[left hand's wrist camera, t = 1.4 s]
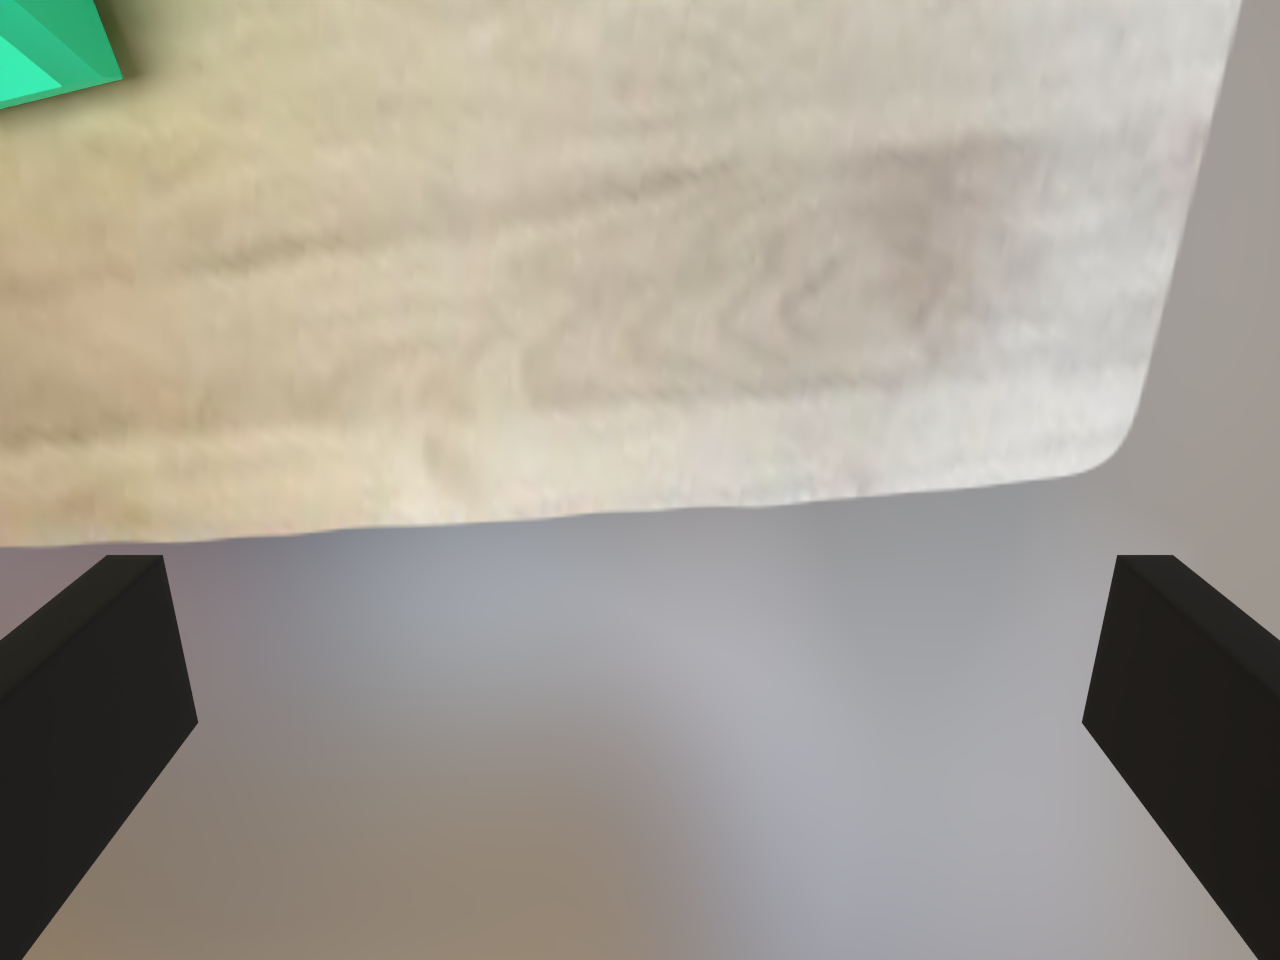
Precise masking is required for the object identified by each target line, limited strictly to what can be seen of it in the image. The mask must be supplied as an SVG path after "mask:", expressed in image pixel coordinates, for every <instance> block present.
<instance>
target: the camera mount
mask: <svg viewBox="0 0 1280 960" xmlns="http://www.w3.org/2000/svg"><path fill="white" fill-rule="evenodd" d="M121 79H123V76H122V74H121V71H120V69H119V66H118V64H117V61H116V58H115V56H114V53H113V51H112V48H111V45H110V43H109V40H108V38H107V35H106V32H105V30H104V27H103V25H102V22H101V19H100V17H99V14H98V12H97V9H96V6H95V4H94V1H93V0H0V109H3V108H7V107H11V106H15V105H19V104H23V103H27V102H31V101H35V100H40V99H44V98H48V97H52V96H56V95H60V94H64V93H68V92H72V91H76V90H80V89H84V88H89V87H93V86H97V85H101V84H105V83H109V82H113V81H117V80H121Z"/></svg>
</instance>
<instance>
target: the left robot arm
mask: <svg viewBox="0 0 1280 960" xmlns="http://www.w3.org/2000/svg"><path fill="white" fill-rule="evenodd" d="M197 723H198V720H197V715H196V710H195V705H194V701H193V696H192V691H191V686H190V682H189V677H188V672H187V668H186V663H185V658H184V654H183V649H182V644H181V639H180V634H179V630H178V625H177V620H176V616H175V611H174V606H173V601H172V597H171V592H170V587H169V583H168V578H167V573H166V568H165V564H164V559H163V555H107V556H105V557H104V558H103V559H102V560H100V561H99V562H98V563H97V564H95V565H94V566H93V567H92V568H90V569H89V570H88V571H87V572H85V573H84V574H83V575H82V576H80V577H79V578H78V579H77V580H75V581H74V582H73V583H72V584H70V585H69V586H68V587H67V588H65V589H64V590H63V591H62V592H60V593H59V594H58V595H57V596H55V597H54V598H53V599H52V600H50V601H49V602H48V603H47V604H45V605H44V606H43V607H42V608H40V609H39V610H38V611H37V612H35V613H34V614H33V615H32V616H30V617H29V618H28V619H27V620H25V621H24V622H23V623H22V624H20V625H19V626H18V627H17V628H15V629H14V630H13V631H12V632H10V633H9V634H8V635H7V636H5V637H4V638H3V639H2V640H0V960H22V959H23V957H24V956H25V955H26V953H27V952H28V950H29V949H30V948H31V947H32V945H33V944H34V943H35V941H36V940H37V938H38V937H39V936H40V934H41V933H42V932H43V930H44V929H45V928H46V926H47V925H48V924H49V922H50V921H51V920H52V918H53V917H54V916H55V914H56V913H57V912H58V910H59V909H60V908H61V906H62V905H63V903H64V902H65V901H66V900H67V898H68V897H69V895H70V894H71V893H72V891H73V890H74V889H75V887H76V886H77V885H78V883H79V882H80V881H81V879H82V878H83V877H84V875H85V874H86V873H87V871H88V870H89V869H90V867H91V866H92V864H93V863H94V862H95V861H96V859H97V858H98V857H99V855H100V854H101V852H102V851H103V850H104V848H105V847H106V846H107V844H108V843H109V842H110V840H111V839H112V838H113V836H114V835H115V834H116V832H117V831H118V830H119V828H120V827H121V826H122V824H123V823H124V821H125V820H126V819H127V818H128V816H129V815H130V814H131V812H132V811H133V809H134V808H135V807H136V805H137V804H138V803H139V801H140V800H141V799H142V797H143V796H144V795H145V793H146V792H147V791H148V789H149V788H150V787H151V785H152V784H153V783H154V781H155V780H156V778H157V777H158V776H159V775H160V773H161V772H162V770H163V769H164V768H165V766H166V765H167V764H168V762H169V761H170V760H171V758H172V757H173V756H174V754H175V753H176V752H177V750H178V749H179V748H180V746H181V745H182V744H183V742H184V741H185V740H186V738H187V737H188V736H189V734H190V733H191V732H192V730H193V729H194V728H195V726H196V725H197ZM1082 723H1083V725H1084V726H1085V728H1086V729H1087V730H1088V731H1089V733H1090V734H1091V736H1092V737H1093V738H1094V740H1095V741H1096V742H1097V744H1098V745H1099V746H1100V748H1101V749H1102V750H1103V752H1104V753H1105V754H1106V756H1107V757H1108V758H1109V760H1110V761H1111V762H1112V764H1113V765H1114V766H1115V768H1116V769H1117V770H1118V772H1119V773H1120V775H1121V776H1122V777H1123V779H1124V780H1125V781H1126V783H1127V784H1128V785H1129V787H1130V788H1131V789H1132V791H1133V792H1134V793H1135V795H1136V796H1137V797H1138V799H1139V800H1140V801H1141V803H1142V804H1143V805H1144V807H1145V808H1146V809H1147V811H1148V812H1149V813H1150V815H1151V816H1152V818H1153V819H1154V820H1155V822H1156V823H1157V824H1158V826H1159V827H1160V828H1161V830H1162V831H1163V832H1164V834H1165V835H1166V836H1167V838H1168V839H1169V840H1170V842H1171V843H1172V844H1173V846H1174V847H1175V848H1176V850H1177V851H1178V852H1179V854H1180V855H1181V857H1182V858H1183V859H1184V861H1185V862H1186V863H1187V865H1188V866H1189V867H1190V869H1191V870H1192V871H1193V873H1194V874H1195V875H1196V877H1197V878H1198V879H1199V881H1200V882H1201V883H1202V885H1203V886H1204V887H1205V889H1206V890H1207V891H1208V893H1209V894H1210V895H1211V897H1212V898H1213V899H1214V901H1215V902H1216V904H1217V905H1218V906H1219V908H1220V909H1221V910H1222V911H1223V913H1224V914H1225V916H1226V917H1227V918H1228V920H1229V921H1230V922H1231V924H1232V925H1233V926H1234V928H1235V929H1236V930H1237V932H1238V933H1239V934H1240V936H1241V937H1242V938H1243V940H1244V941H1245V943H1246V944H1247V945H1248V947H1249V948H1250V949H1251V951H1252V952H1253V953H1254V955H1255V956H1256V957H1257V959H1258V960H1280V640H1278V639H1277V638H1276V637H1275V636H1273V635H1272V634H1271V633H1270V632H1268V631H1267V630H1266V629H1265V628H1263V627H1262V626H1261V625H1260V624H1258V623H1257V622H1256V621H1255V620H1253V619H1252V618H1251V617H1250V616H1248V615H1247V614H1246V613H1245V612H1243V611H1242V610H1241V609H1240V608H1238V607H1237V606H1236V605H1235V604H1233V603H1232V602H1231V601H1230V600H1228V599H1227V598H1226V597H1225V596H1223V595H1222V594H1221V593H1220V592H1218V591H1217V590H1216V589H1215V588H1213V587H1212V586H1211V585H1210V584H1208V583H1207V582H1206V581H1205V580H1203V579H1202V578H1201V577H1200V576H1198V575H1197V574H1196V573H1195V572H1193V571H1192V570H1191V569H1190V568H1188V567H1187V566H1186V565H1185V564H1183V563H1182V562H1181V561H1180V560H1178V559H1177V558H1176V557H1175V556H1173V555H1117V559H1116V564H1115V569H1114V573H1113V578H1112V583H1111V587H1110V592H1109V597H1108V601H1107V606H1106V611H1105V616H1104V620H1103V625H1102V630H1101V634H1100V639H1099V644H1098V649H1097V653H1096V658H1095V663H1094V668H1093V672H1092V677H1091V682H1090V686H1089V691H1088V696H1087V701H1086V705H1085V710H1084V715H1083V720H1082Z"/></svg>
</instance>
